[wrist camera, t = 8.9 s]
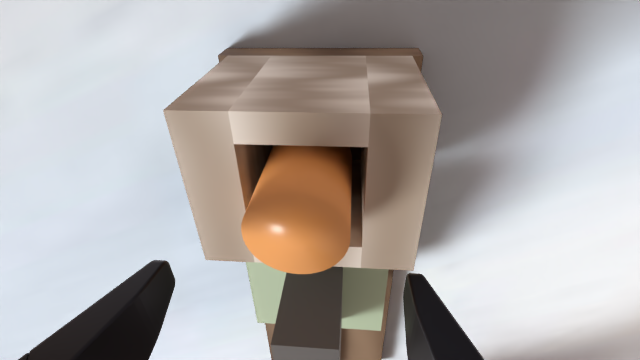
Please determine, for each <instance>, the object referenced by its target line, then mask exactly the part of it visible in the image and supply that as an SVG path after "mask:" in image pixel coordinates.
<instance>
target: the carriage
mask: <svg viewBox="0 0 640 360" xmlns="http://www.w3.org/2000/svg"><path fill="white" fill-rule="evenodd" d="M246 265H247V270H248V275H249V281H250V286H251V291H252V296H253V301H254V306H255V311H256V316H257V321H258V323H270V324H275V327H274V332H273V336H272V341H271V350H272V356H273V360H340V351H341V328H345V329H360V330H375V331H381V326H382V318H383V310H384V302H385V294H386V287H387V279H388V271H389V269H372V268H353V267H334V266H333V267H331V268H329V269H327V270H324V271H321V272H318V273H312V274H292V273H287V272H283V271H279V270H276V269H274V268H272V267H270V266H268V265H266V264H264V263H257V262H246Z"/></svg>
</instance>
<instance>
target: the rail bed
mask: <svg viewBox="0 0 640 360" xmlns="http://www.w3.org/2000/svg"><path fill="white" fill-rule="evenodd" d="M218 58H219V63H218V64H217V65H216V66H215V67H214V68H213V69H211V70H210V71H209V72H208V73H207V74H205V75H204V76H203V77H202V78H201V79H200V80H198V81H197V82H196V83H195V84H194V85H192V86H191V87H190V88H189V89H188V90H187V91H185V92H184V93H183V94H182V95H181V96H179V97H178V98H177V99H176V100H175V101H174V102H172V103H171V104H170V105H169V106H168V107H167V108H165V109H164V110H163V111H164V115H165V119H166V122H167V126H168V129H169V133H170V136H171V140H172V143H173V147H174V150H175V154H176V157H177V161H178V164H179V168H180V171H181V175H182V178H183V182H184V185H185V189H186V192H187V196H188V199H189V203H190V206H191V210H192V213H193V217H194V220H195V224H196V227H197V231H198V234H199V238H200V241H201V245H202V248H203V252H204V255H205V259H206V260H219V261H238V262H257V263H263V262H261V261H260V260H258V259H257V258H256V257H255V256H254V255H253V254H252V253H251V252H250V251H249V249H248V248H247V246H246V245H245V242H244V240H243V237H242V232H241V223H242V219H243V217H244V214H245V212H246V209H247V207H248V205H249V202H250V200H251V198H252V195H253V193H254V190H255V188H256V186H257V183H258V181H259V178H260V176H261V174H262V171H263V169H264V167H265V164H266V162H267V159H268V157H269V155H270V152H271V150H272V147H273V145H294V146H337V147H350V150H351V154H352V190H351V235H350V245H349V248H348V251H347V253H346V254H345V256H344V257H343V258H342V259H341V260H340V261H339V262H338V263H337V264H336V265H334V267H353V268H372V269H389V271H388V279H387V287H386V294H385V302H384V310H383V318H382V326H381V331H375V330H360V329H345V328H341V351H340V360H381V357H382V350H383V342H384V335H385V328H386V321H387V314H388V306H389V299H390V292H391V285H392V277H393V270H411V271H413V270H414V265H415V259H416V254H417V248H418V243H419V237H420V232H421V227H422V221H423V216H424V210H425V205H426V199H427V194H428V189H429V183H430V178H431V172H432V167H433V161H434V156H435V151H436V145H437V140H438V134H439V129H440V123H441V118H442V113H441V111H440V109H439V107H438V105H437V103H436V101H435V99H434V98H433V96H432V94H431V92H430V90H429V88H428V86H427V84H426V82H425V80H424V78H423V76H422V74H421V68H422V61H423V55H422V53H421V51H420V50H419V48H227V49H226V50H224V51H223V52H222V53H221V54H219V55H218ZM265 324H266V330H267V336H268V341H269V347H270V353H271V358H272V360H273V356H272V350H271V341H272V336H273V332H274V327H275V324H270V323H265Z"/></svg>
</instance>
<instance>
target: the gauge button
mask: <svg viewBox="0 0 640 360" xmlns="http://www.w3.org/2000/svg"><path fill="white" fill-rule="evenodd" d="M351 190H352V154H351V150H350V147H337V146H294V145H273V147H272V150H271V152H270V155H269V157H268V159H267V162H266V164H265V167H264V169H263V171H262V174H261V176H260V178H259V181H258V183H257V186H256V188H255V190H254V193H253V195H252V198H251V200H250V202H249V205H248V207H247V209H246V212H245V214H244V217H243V219H242V223H241V232H242V237H243V240H244V242H245V245H246V246H247V248H248V249H249V251H250V252H251V253H252V254H253V255H254V256H255V257H256V258H257V259H258V260H260V261H261V262H263V263H264V264H266V265H268V266H270V267H272V268H274V269H276V270H279V271H283V272H287V273H292V274H312V273H318V272H321V271H324V270H327V269H329V268H331V267H333V266H334V265H336V264H337V263H338V262H339V261H340V260H341V259H342V258H343V257H344V256H345V254H346V253H347V251H348V248H349V245H350V235H351Z"/></svg>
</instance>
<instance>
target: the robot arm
mask: <svg viewBox="0 0 640 360" xmlns="http://www.w3.org/2000/svg"><path fill="white" fill-rule="evenodd" d="M174 287H175V278H174V275H173V273H172V270H171V267H170V265H169V263H168V262H167V261H162V260H154V261H151V262H150V263H148V264H147V265H146V266H144V267H143V268H142V269H140V270H139V271H138V272H136V273H135V274H134V275H132V276H131V277H129V278H128V279H127V280H125V281H124V282H123V283H121V284H120V285H119V286H117V287H116V288H115V289H113V290H112V291H111V292H109V293H108V294H106V295H105V296H104V297H102V298H101V299H100V300H98V301H97V302H96V303H94V304H93V305H92V306H90V307H89V308H88V309H86V310H85V311H83V312H82V313H81V314H79V315H78V316H77V317H75V318H74V319H73V320H71V321H70V322H69V323H67V324H66V325H64V326H63V327H62V328H60V329H59V330H58V331H56V332H55V333H54V334H52V335H51V336H50V337H48V338H47V339H46V340H44V341H43V342H41V343H40V344H39V345H37V346H36V347H35V348H33V349H32V350H31V351H30V352H29V353H27V354H25V355H24V356H22V357H21V358H20V359H18V360H148V359H149V357H150V355H151V353H152V350H153V348H154V346H155V343H156V341H157V339H158V336H159V333H160V331H161V328H162V325H163V321H164V318H165V315H166V312H167V309H168V306H169V303H170V300H171V296H172V293H173V290H174ZM403 300H404V316H405V331H406V346H407V355H408V360H484V359H483V357H482V356H481V354H480V353H479V352H478V350H477V349H476V347H475V346H474V345H473V343H472V342H471V341H470V339H469V338H468V336H467V335H466V334H465V332H464V331H463V330H462V328H461V327H460V325H459V324H458V323H457V321H456V320H455V318H454V317H453V316H452V314H451V313H450V312H449V310H448V309H447V307H446V306H445V305H444V303H443V302H442V301H441V299H440V298H439V296H438V295H437V294H436V292H435V291H434V289H433V288H432V287H431V285H430V284H429V283H428V281H427V280H426V278H425V277H424V276H423V275H422V274H415V273H409V274H407V276H406V282H405V288H404V295H403Z"/></svg>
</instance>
